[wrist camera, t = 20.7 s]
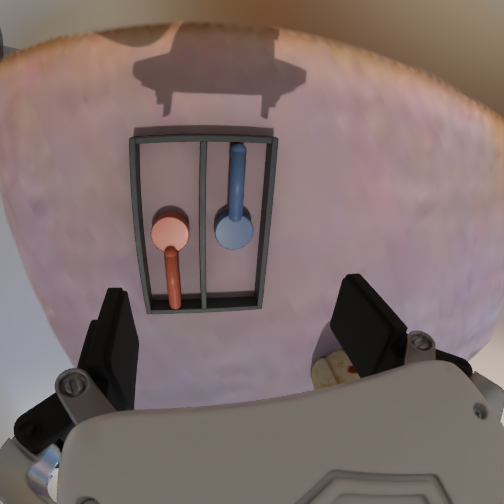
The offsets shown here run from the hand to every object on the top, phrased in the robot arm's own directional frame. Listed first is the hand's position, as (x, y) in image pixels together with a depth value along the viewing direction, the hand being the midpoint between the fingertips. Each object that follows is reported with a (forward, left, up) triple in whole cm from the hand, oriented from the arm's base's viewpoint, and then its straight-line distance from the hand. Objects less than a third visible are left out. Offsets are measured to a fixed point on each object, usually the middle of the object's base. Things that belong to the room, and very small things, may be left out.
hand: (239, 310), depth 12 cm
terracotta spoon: (-4, -8, -20) cm, 22 cm away
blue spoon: (+2, -1, -20) cm, 20 cm away
